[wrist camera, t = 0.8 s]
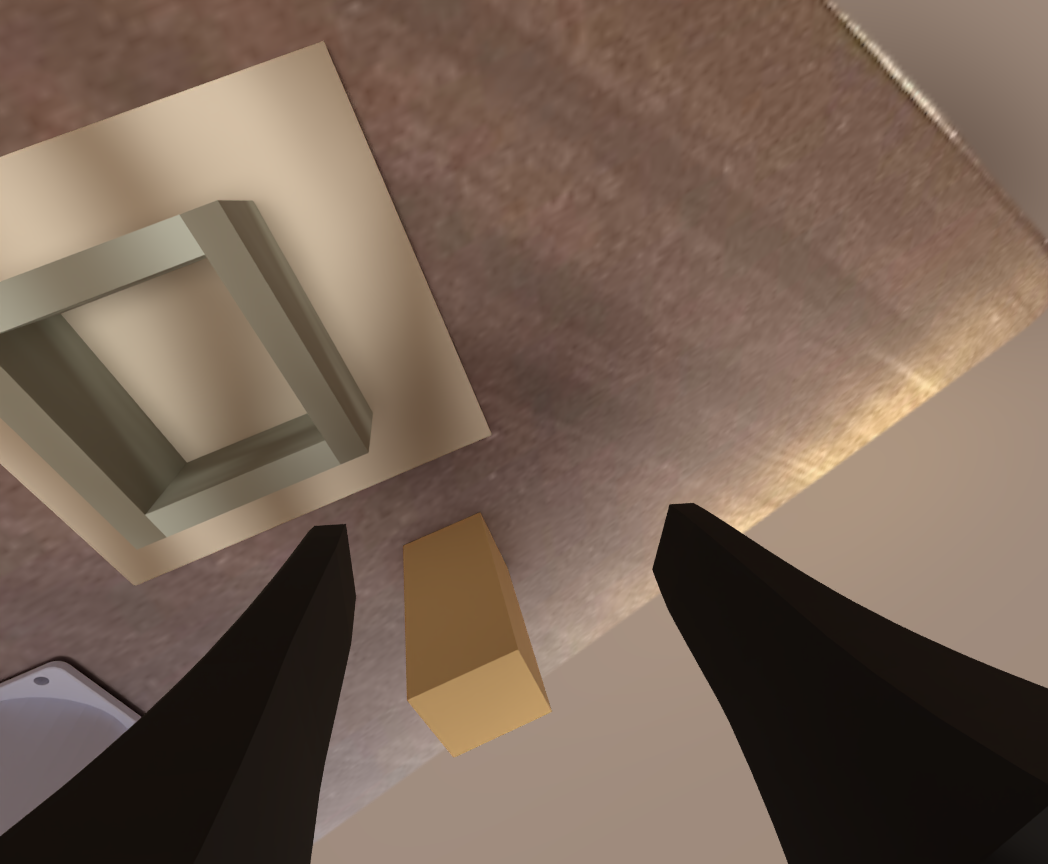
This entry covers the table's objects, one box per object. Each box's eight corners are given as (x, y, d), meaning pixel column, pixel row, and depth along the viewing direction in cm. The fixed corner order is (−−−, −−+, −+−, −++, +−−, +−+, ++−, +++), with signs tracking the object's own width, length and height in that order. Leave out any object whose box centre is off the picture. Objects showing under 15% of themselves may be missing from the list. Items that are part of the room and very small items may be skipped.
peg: (436, 599, 24) (453, 757, 17) (403, 545, 22) (407, 700, 15) (507, 567, 25) (552, 711, 18) (480, 512, 23) (518, 649, 16)
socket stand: (141, 575, 20) (87, 655, 16) (-216, 242, 13) (-439, 256, 10) (489, 429, 21) (508, 474, 17) (326, 47, 14) (303, -5, 11)
